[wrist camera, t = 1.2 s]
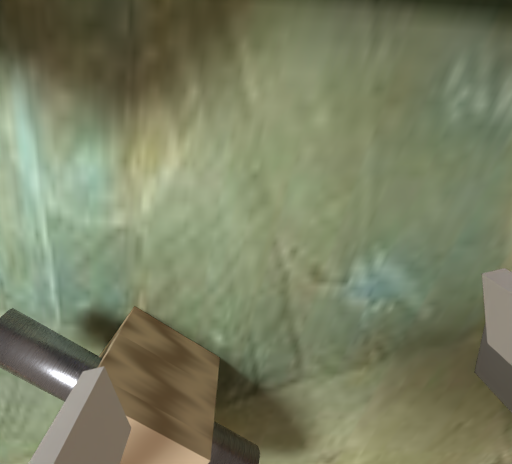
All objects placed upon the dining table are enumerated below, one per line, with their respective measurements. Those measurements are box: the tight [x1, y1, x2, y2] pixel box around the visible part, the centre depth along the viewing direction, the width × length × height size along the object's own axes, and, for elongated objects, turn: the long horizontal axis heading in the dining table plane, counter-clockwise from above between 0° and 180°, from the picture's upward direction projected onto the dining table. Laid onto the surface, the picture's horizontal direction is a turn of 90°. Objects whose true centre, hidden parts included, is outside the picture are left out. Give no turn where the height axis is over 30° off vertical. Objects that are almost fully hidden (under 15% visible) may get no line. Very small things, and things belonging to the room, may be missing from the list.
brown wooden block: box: [97, 306, 220, 464], centre depth 33 cm, size 10×8×12 cm
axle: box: [0, 308, 260, 464], centre depth 33 cm, size 24×4×4 cm, turn 54°
